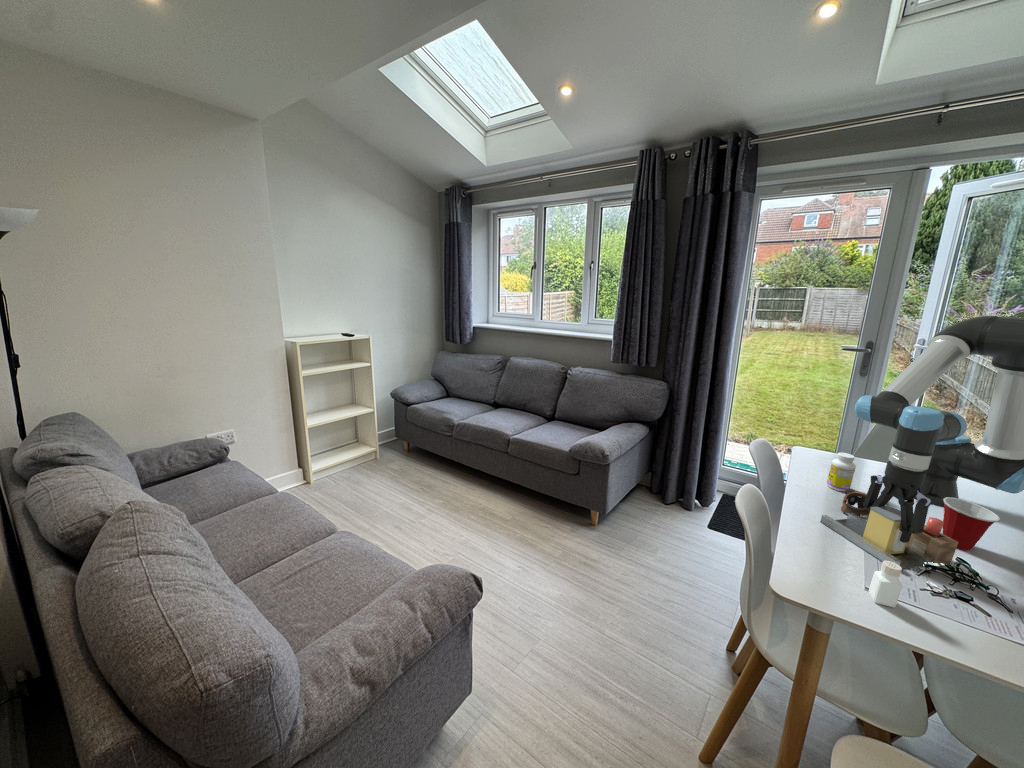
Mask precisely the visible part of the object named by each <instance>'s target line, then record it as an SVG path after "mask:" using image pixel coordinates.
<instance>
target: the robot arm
mask: <svg viewBox="0 0 1024 768" xmlns="http://www.w3.org/2000/svg"><path fill="white" fill-rule="evenodd" d="M972 355H974V356H975V355H977V356H978V355H979V356H985V357H991V366H992V367H993V368H994V369H995V370H997V373H996V378H995V382H994V383H995V384H994V386H993V391H992V396H991V401H990V405H989V409H988V410H989V411H988V414H987V420H986V423H985V428H984V432H983V438H981V439H979V440H977V441H976V442H974V443H973V442H972V438H971V436H970V437H969V436H967V435H965V433H966V431H967V428H968V424H967V423H968V422H967V421H966V419H965V418H964V417H963V416H962V415H960V414H959V413H957V412H954V411H950V410H938V409H935V408H932V407H931V408H930V407H926V406H918V405H917V406H915V405H913V404H914V403H915V402H916V401H917V400H919V398H921V397H922V395H924V393H926V392H927V391H928V390H929V388H931V387H932V386H933V385H934V384H935V383H936V382H937V381H938V380H939V379H940V378H941V377H942V376H943V375H944V374H945V373H947V371H948V370H950V369H951V368H952V367H953V366H954V365H955V364H956V363H957V362H960V361H964V360H966V359H968V357H969V356H972ZM853 411H854V414H855V416H856V418H858V419H859V420H860V419H861V420H862V421H866V422H869V423H871V424H877V425H878V426H884V427H887V428H890V429H894V430H896V432H895V435H894V439H893V443H892V446H891V450H890V452H889V455H888V460H889V461H887V462H886V466H885V469H884V475H880V474H876V475H875V474H873V475H871V476H870V484H869V487H868V489H867V492H866V494H867V495H866V497H865V500H864V503H863V506H864V507H865V508H867V509H868V510H869V514H870V510H871V509H870V508H871V507H882V506H887V504H889V502H890V501H891V500H892V498H895V499H896V500H897V502H898V505H899V506H900V509H899V510H900V511H901V527H902V528H899V529H897V532H896V535H895V539H894V542H893V545H892V548H891V550H892V551H894V552H896V551H903V547H904V544H905V543H907V542H909V540H910V537H911V534H912V533H913V534H916V533H923V530H924V525H926V522H927V516H928V513H929V512H928V511H929V507H930V506H931V505H935V506H936V505H937V506H941V505H943V507H944V501H943V499H944V498H946V497H949V498H957V499H960V497H959V490H958V483H957V482H958V478H962V479H966V480H969V481H971V482H974V483H977V484H980V485H983V486H987V487H989V488H993V489H995V490H997V491H1003V492H1005V493H1009V494H1013V495H1014V494H1019V493H1022V492H1023V491H1024V317H1016V316H1015V317H1014V316H1012V317H1011V316H997V315H981V316H980V315H979V316H975V317H970V318H967V319H964V320H961V321H959V322H958V321H957V322H956V323H953V324H952V325H949V326H947V327H945V328H943V329H942V330H940V331H939V332H937V333H936V334H935V335H934V336H932V338H930V339H929V341H928V342H927V347H926V349H925V350H923V351H922V352H921V354H919V355H918V356H917V357H916V358H915V359H914V360H913V361H912V362H911V363H910V364H909V365H908V366H907V367H906V368H904V370H902V371H901V373H899V374H898V375H897V376H896V377H895V378H894V379H893V380H892V381H891V382H890V383H889V384H888V385H887V386H885V388H884V389H883V390H882V391H881V392H880V393H878V394H877V395H876V396H875V395H869V394H868V395H867V394H865V395H862V396H861V397H859V399H857V401H856V403H855V405H854V410H853ZM883 486H884V488H883ZM882 488H883V489H882ZM915 499H916V500H915ZM915 503H916V504H915ZM914 505H915V506H914ZM868 517H869V515H867V519H866V521H868Z"/></svg>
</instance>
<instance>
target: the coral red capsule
mask: <svg viewBox="0 0 1024 768" xmlns="http://www.w3.org/2000/svg"><path fill="white" fill-rule="evenodd" d="M943 524H944V522H943V520H942V519H939V518H937V517H933V516H930V517H928V519H927V521H926V524H925V525H926V528H925V531H926V532H927V533H929V534H932V535H935V536H939V535H940V533H942V531H943Z"/></svg>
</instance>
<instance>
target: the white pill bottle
mask: <svg viewBox="0 0 1024 768" xmlns="http://www.w3.org/2000/svg"><path fill="white" fill-rule="evenodd" d="M902 570H903V569H902V568H901V567H900V566H899V565H898V564H896V563H894V562H891V561H883V562H881V566H880V570H875V571H874V572H873V575H872V579H871V582H870V585H869V589H868V593H869V595H870V597H871V599H872V600H873V602H874V603H875V604H878V605H882V606H886V607H889V608H896V606H897V604H898V600H899V597H900V595H901V592H902V588H903V583H902V582H901V581H900V577H901V573H902Z"/></svg>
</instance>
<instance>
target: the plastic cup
mask: <svg viewBox="0 0 1024 768" xmlns="http://www.w3.org/2000/svg"><path fill="white" fill-rule="evenodd" d="M943 501H944V506H943V507H944V508H943V517H942V518H943V520H942V521H943V522H944V524H943V527H942V532H941V533H942V534H944V535H946V536H947V537H949V538H951V539H953V540H955V541H957V542H958V545H957V548H956V550H957V549H958V550H961V551H969V552H970V551H971V550H973V549H974V547H975V545H976V544H977V543H978V542H979V541H980V540H981V539H982V537H983V536H984V535H985V533H986V532H987V531H988V529H989V528H990V527H991V526H992V525H993V524H994V523H997V522H999V521H1000V520H1001V518H1000V516H999V515H998V514H997V513H995V512H993V511H992V510H990V509H988V508H986V507H984V506H982V505H979V504H977V503H974V502H972V501H968V500H965V499H961V498H959V499H957V498H949V497H946V498H944V499H943Z"/></svg>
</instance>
